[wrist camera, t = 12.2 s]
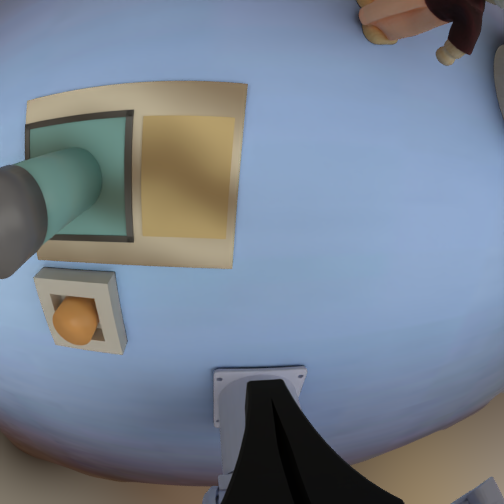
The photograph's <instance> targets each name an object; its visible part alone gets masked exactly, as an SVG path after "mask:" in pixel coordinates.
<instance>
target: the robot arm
mask: <svg viewBox="0 0 504 504" xmlns="http://www.w3.org/2000/svg"><path fill="white" fill-rule="evenodd" d="M306 374H307V368H306V367H304V366H298V367H282V368H257V369H217V370H215V371H214V426H215V427H217V428H220V441H221V455H222V469H223V475H219V476H218V481H219V486H212V487H211V488H210V489H209V491H208V492H207V493H206V494H205V495H204V497H203V502H202V504H404V502H403V500H401V499H400V498H398V497H396V496H394V495H392V494H390V493H388V492H387V491H385V490H383V489H381V488H380V487H378V486H377V485H375V484H373V483H372V482H370V481H369V480H368V479H366V478H365V477H364V476H362V475H361V474H360V473H359V472H357V471H356V470H355V469H353V468H352V467H351V466H350V465H349V464H347V463H346V462H345V461H344V460H343V459H342V458H341V457H340V456H339V455H338V454H337V453H336V452H335V451H334V450H333V449H332V448H331V447H330V446H329V445H328V444H327V443H326V442H325V441H324V439H323V438H322V437H321V436H320V435H319V433H318V432H317V431H316V430H315V428H314V427H313V426H312V425H311V423H310V422H309V421H308V419H307V418H306V416H305V415H304V414H303V412H302V409H301V406H300V402H299V399H298V397H299V394H300V392H301V389H302V386H303V383H304V380H305V377H306ZM451 504H504V498H503V496H502V494H501V492H500V490H499V488H498V486H497V484H496V482H495V480H494V478H493V477H490V478H489V479H487V480H486V481H484V482H483V483H482V484H480V485H479V486H478V487H476V488H475V489H473V490H472V491H469V492H468V493H466V494H465V495H463V496H462V497H460V498H459V499H457V500H456V501H454V502H453V503H451Z"/></svg>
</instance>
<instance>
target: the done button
mask: <svg viewBox="0 0 504 504" xmlns="http://www.w3.org/2000/svg"><path fill="white" fill-rule="evenodd" d="M52 319H53V325H54V327H55V329H56V331H57V332H58V334H59V335H60V336H61V337H62V338H63V339H65V340H66V341H68V342H69V343H72V344H74V345H86V344H88V343H89V342H90V341H91V338H92V336H93V334H94V332H95V330H96V328H97V326H98V324H99V322H100V320H99V316H98V312H97V308H96V304H95V299H94V298H84V297H74V296H66V297H65V298H64V300H63V301H62V303H61V304H60V305H59V307H58V308H57V310H56V311H55V313H54V314H53V318H52Z"/></svg>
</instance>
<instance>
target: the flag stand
mask: <svg viewBox="0 0 504 504" xmlns="http://www.w3.org/2000/svg"><path fill="white" fill-rule="evenodd" d="M494 80H495V87H496V93H497V98H498V102H499V106H500V110H501V113H502V116H503V119H504V45H501V46H500V47H498V49H497V51H496V54H495V57H494Z"/></svg>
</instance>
